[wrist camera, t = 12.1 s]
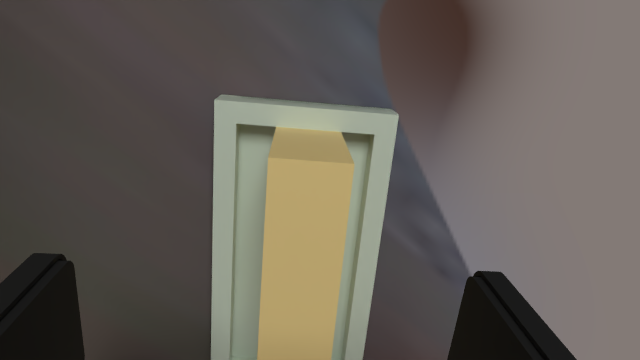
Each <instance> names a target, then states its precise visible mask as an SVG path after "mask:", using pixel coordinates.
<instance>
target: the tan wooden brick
mask: <svg viewBox="0 0 640 360" xmlns="http://www.w3.org/2000/svg"><path fill="white" fill-rule="evenodd" d="M354 165H355V164H354V161H353V159H352V157H351V154H350V152H349V150H348V147H347V145H346V143H345V140H344V138H343V136H342V133H341V132H336V131H323V130H311V129H298V128H286V127H276V129H275V133H274V137H273V141H272V145H271V148H270V152H269V156H268V168H267V186H266V205H265V223H264V242H263V260H262V278H261V297H260V315H259V333H258V352H257V360H331V357H332V348H333V340H334V332H335V323H336V315H337V307H338V298H339V290H340V282H341V273H342V265H343V257H344V248H345V240H346V232H347V223H348V215H349V207H350V198H351V190H352V182H353V173H354Z"/></svg>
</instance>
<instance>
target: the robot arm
mask: <svg viewBox="0 0 640 360" xmlns="http://www.w3.org/2000/svg"><path fill="white" fill-rule="evenodd" d="M84 358H85V355H84V346H83V337H82V329H81V320H80V312H79V304H78V295H77V287H76V278H75V270H74V264H73V263H72V262H71V261H67V260H66V258H65V256H64V255H62V254H46V253H34V254H32V255H31V256H30V257H28V258H27V259H26V260H25V261H24V262H23V263H22V264H21V265H20V266H19V267H18V268H17V269H16V270H14V271H13V272H12V273H11V274H10V275H9V276H8V277H7V278H6V279H5V280H4V281H3V282H2V283H0V360H84ZM447 360H576V358H575V357H574V356H573V355H572V354H571V353H570V351H569V350H568V349H567V348H566V347H565V345H564V344H563V343H562V342H561V341H560V340H559V339H558V337H557V336H556V335H555V334H554V333H553V331H552V330H551V329H550V328H549V327H548V326H547V324H546V323H545V322H544V321H543V320H542V319H541V317H540V316H539V315H538V314H537V313H536V312H535V310H534V309H533V308H532V307H531V306H530V305H529V303H528V302H527V301H526V300H525V299H524V298H523V296H522V295H521V294H520V293H519V292H518V291H517V289H516V288H515V287H514V286H513V285H512V284H511V282H510V281H509V280H508V279H507V278H506V277H505V276H504V274H503V273H501V272H490V271H477V272H476V273H475V274H474V276H473V277H469V278H468V279H467V282H466V285H465V289H464V293H463V298H462V302H461V306H460V310H459V314H458V318H457V322H456V326H455V331H454V335H453V339H452V343H451V347H450V351H449V355H448V359H447Z"/></svg>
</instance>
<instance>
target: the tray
mask: <svg viewBox="0 0 640 360" xmlns="http://www.w3.org/2000/svg"><path fill="white" fill-rule="evenodd" d="M398 117H399V115H398V114H397V113H396V112H394V111H393V110H392V109H387V108H375V107H363V106H351V105H339V104H328V103H316V102H304V101H292V100H280V99H268V98H257V97H245V96H233V95H220V96H219V97H217V98H216V99H215V100H214V173H213V245H212V317H211V360H257V352H258V333H259V315H260V297H261V278H262V260H263V242H264V223H265V205H266V186H267V168H268V156H269V152H270V148H271V145H272V141H273V137H274V133H275V129H276V127H286V128H298V129H311V130H323V131H336V132H341V133H342V136H343V138H344V140H345V143H346V145H347V147H348V150H349V152H350V154H351V157H352V159H353V161H354V164H355V165H354V173H353V182H352V190H351V198H350V207H349V215H348V223H347V232H346V240H345V248H344V257H343V265H342V273H341V282H340V290H339V298H338V307H337V315H336V323H335V332H334V340H333V348H332V357H331V360H363V353H364V347H365V340H366V333H367V326H368V320H369V313H370V306H371V299H372V293H373V286H374V279H375V272H376V266H377V259H378V252H379V245H380V239H381V232H382V225H383V218H384V212H385V205H386V198H387V191H388V185H389V178H390V171H391V164H392V158H393V151H394V144H395V137H396V131H397V124H398Z"/></svg>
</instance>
